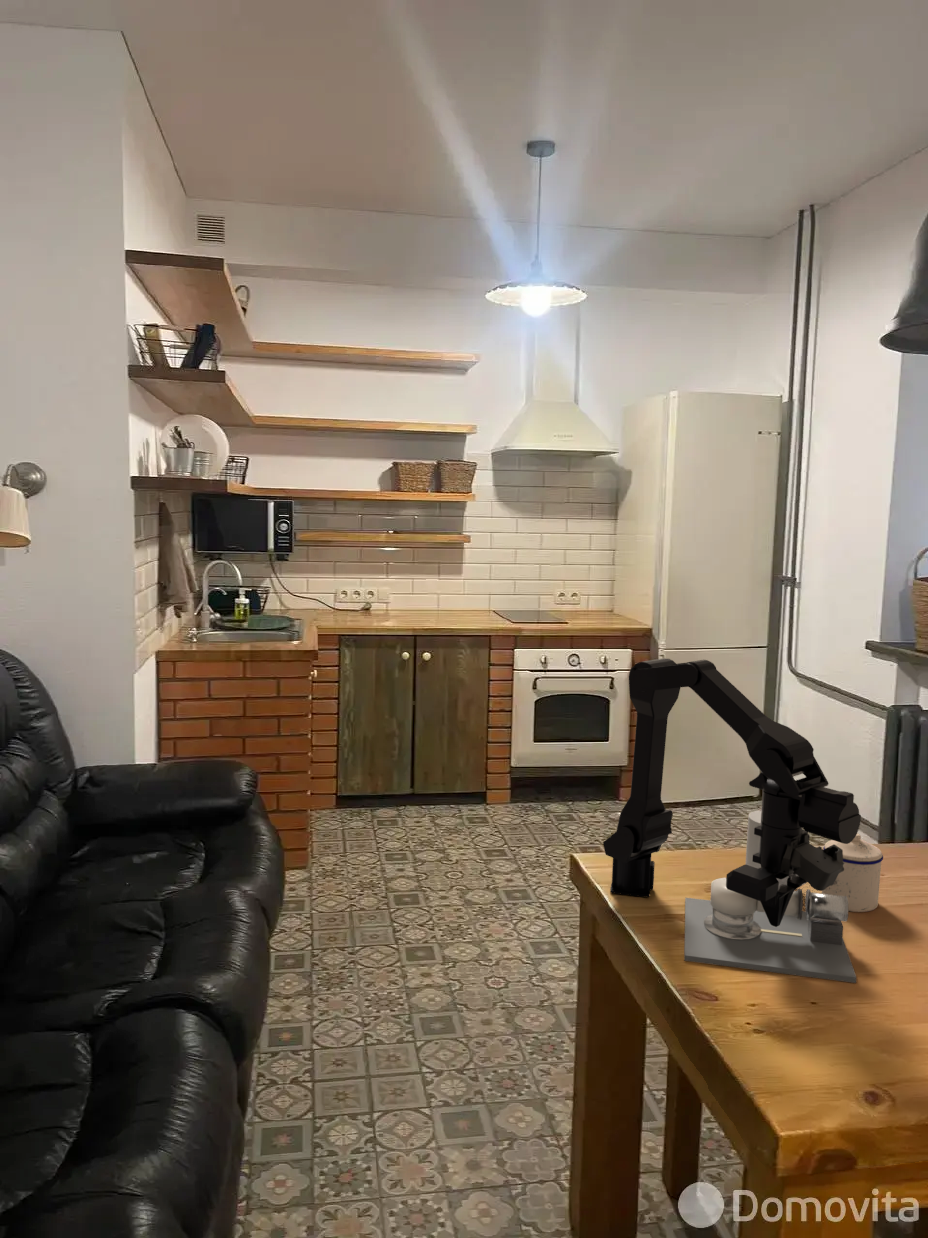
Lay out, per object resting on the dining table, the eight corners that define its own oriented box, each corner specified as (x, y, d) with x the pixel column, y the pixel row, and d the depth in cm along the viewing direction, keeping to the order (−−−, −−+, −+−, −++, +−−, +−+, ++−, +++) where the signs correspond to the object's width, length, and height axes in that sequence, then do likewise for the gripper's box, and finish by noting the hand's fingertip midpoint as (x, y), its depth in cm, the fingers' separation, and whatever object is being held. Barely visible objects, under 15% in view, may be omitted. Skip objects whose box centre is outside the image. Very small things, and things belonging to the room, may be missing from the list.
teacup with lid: (876, 894, 156) (881, 828, 154) (882, 917, 147) (887, 847, 146) (800, 884, 159) (805, 819, 158) (802, 906, 151) (807, 837, 149)
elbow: (710, 916, 138) (711, 888, 138) (710, 898, 145) (711, 871, 144) (802, 928, 135) (804, 899, 134) (798, 908, 141) (799, 881, 141)
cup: (787, 877, 162) (791, 811, 161) (799, 896, 154) (804, 827, 153) (740, 874, 163) (744, 809, 162) (749, 894, 155) (753, 825, 154)
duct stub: (704, 936, 138) (705, 916, 138) (703, 912, 146) (704, 893, 146) (762, 943, 136) (764, 923, 136) (758, 918, 144) (760, 899, 144)
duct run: (806, 943, 136) (810, 896, 135) (803, 929, 141) (806, 884, 140) (846, 947, 135) (849, 901, 134) (841, 934, 139) (844, 888, 138)
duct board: (684, 960, 132) (684, 954, 132) (685, 902, 151) (685, 896, 151) (856, 983, 127) (856, 976, 127) (834, 919, 146) (834, 914, 146)
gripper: (801, 855, 121) (793, 967, 123) (866, 823, 133) (858, 926, 135) (726, 831, 129) (720, 937, 131) (794, 803, 141) (788, 900, 143)
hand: (774, 925), depth 135 cm, fingers closed
